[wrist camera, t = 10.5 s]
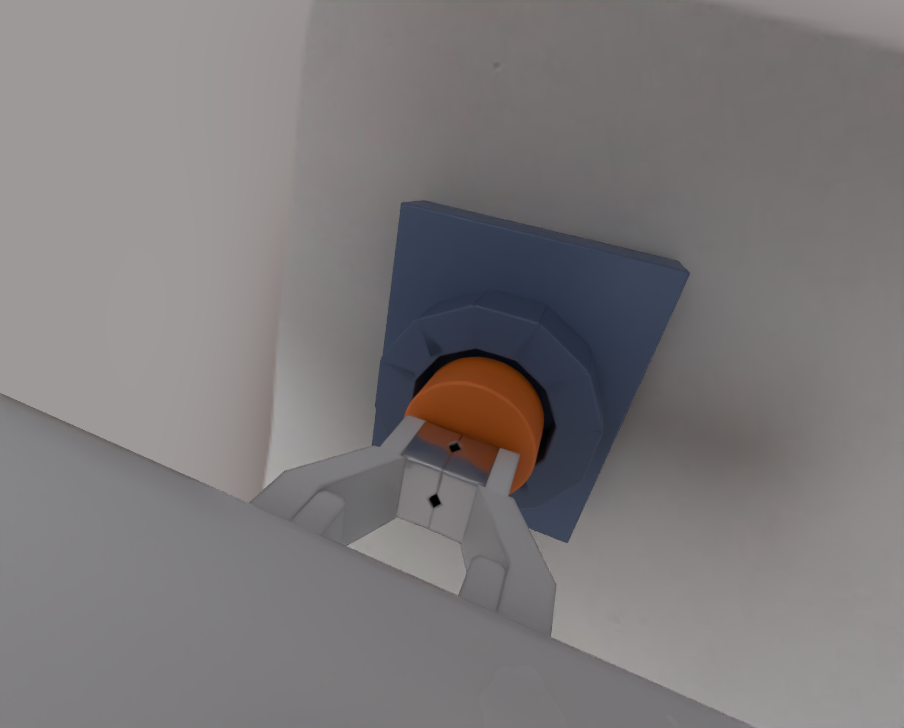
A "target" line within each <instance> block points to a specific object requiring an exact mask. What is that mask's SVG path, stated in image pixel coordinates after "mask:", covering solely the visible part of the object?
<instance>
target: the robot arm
mask: <svg viewBox="0 0 904 728" xmlns="http://www.w3.org/2000/svg"><path fill="white" fill-rule="evenodd" d="M519 457H520V454H519V453H517V452H514V451H510V450H507V449H504V448H501V447H500V448H499V447H497V446H494V445H491V444H488V443H485V442H482V441H479V440H476V439H473V438H470V437H468V436H465V435H463V434H460V433H458V432H455V431H453V430H450V429H447V428H445V427H442V426H439V425H437V424H434V423H432V422H429V421H426V420H423V419H421V418H418V417H415V416H412V415H407V416H405V418H404V419H403V420H402V421H401V422H400V424H399V425H398V426H397V427H396V428H395V429H394V431H393V432H392V433H391V434H390V435H389V437H388V438H387V439H386V440H385V441H384V442H383V444H382V445H381V446H380V447H378V446H375V445H374V446H370V447H367V448H363V449H360V450H356V451H353V452H349V453H346V454H342V455H339V456H335V457H332V458H328V459H325V460H321V461H318V462H314V463H311V464H307V465H304V466H300V467H297V468H293V469H290V470H286V471H284V472H283V473H282V474H281V475H279V476H278V477H277V478H276V479H275V480H274V481H273V482H272V483H270V484H269V485H268V486H267V487H266V488H265V489H264V490H263V491H262V492H260V493H259V494H258V495H257V496H256V497H255V498H254V499H253V500H252V501H250V502H249V503H247V502H245V501H243V500H241V499H238V498H236V497H234V496H232V495H229V494H227V493H225V492H223V491H220V490H218V489H215V488H214V487H211V486H209V485H207V484H205V483H202V482H200V481H198V480H196V479H193V478H191V477H189V476H186V475H184V474H182V473H180V472H177V471H175V470H173V469H171V468H168V467H166V466H164V465H161V464H159V463H157V462H155V461H153V460H150V459H148V458H146V457H143V456H141V455H139V454H136V453H134V452H132V451H130V450H128V449H125V448H123V447H121V446H119V445H117V444H114V443H112V442H110V441H107V440H105V439H103V438H101V437H98V436H96V435H94V434H92V433H89V432H87V431H85V430H83V429H80V428H78V427H76V426H74V425H71V424H69V423H67V422H65V421H62V420H60V419H58V418H56V417H53V416H51V415H49V414H47V413H44V412H42V411H40V410H37V409H35V408H33V407H31V406H28V405H26V404H24V403H22V402H20V401H17V400H15V399H13V398H11V397H8V396H6V395H4V394H1V393H0V728H756V727H754V726H751V725H749V724H747V723H745V722H742V721H740V720H738V719H736V718H733V717H731V716H729V715H727V714H724V713H722V712H720V711H718V710H715V709H713V708H711V707H709V706H706V705H704V704H702V703H699V702H697V701H695V700H693V699H690V698H688V697H686V696H684V695H681V694H679V693H677V692H675V691H672V690H670V689H668V688H666V687H663V686H661V685H659V684H657V683H654V682H652V681H650V680H648V679H645V678H643V677H641V676H638V675H636V674H634V673H632V672H629V671H627V670H625V669H623V668H620V667H618V666H616V665H613V664H611V663H609V662H607V661H604V660H602V659H600V658H598V657H595V656H593V655H591V654H588V653H586V652H584V651H582V650H579V649H577V648H575V647H572V646H570V645H568V644H566V643H563V642H561V641H559V640H557V639H554V638H552V637H551V631H552V621H553V612H554V602H555V593H556V583H555V581H554V579H553V577H552V575H551V573H550V571H549V569H548V567H547V565H546V563H545V561H544V559H543V557H542V555H541V552H540V550H539V548H538V546H537V544H536V542H535V540H534V538H533V536H532V534H531V532H530V530H529V528H528V526H527V524H526V522H525V520H524V518H523V516H522V514H521V512H520V510H519V508H518V506H517V504H516V501H515V499H514V498H512V497H509V496H508V495H509V492H510V488H511V485H512V482H513V478H514V475H515V471H516V468H517V464H518V461H519ZM395 517H398V518H401V519H403V520H406V521H409V522H411V523H414V524H416V525H419V526H422V527H424V528H427V529H429V530H432V531H434V532H436V533H438V534H440V535H443V536H445V537H447V538H449V539H452V540H454V541H456V542H458V543H461V549H462V553H463V558H464V563H465V567H466V572H467V573H466V576H465V579H464V582H463V584H462V587H461V590H460V593H459V596H458V595H455V594H453V593H451V592H449V591H446V590H444V589H442V588H440V587H438V586H435V585H433V584H431V583H429V582H426V581H424V580H422V579H419V578H417V577H415V576H413V575H410V574H408V573H406V572H404V571H401V570H399V569H397V568H395V567H392V566H390V565H388V564H385V563H383V562H381V561H379V560H376V559H374V558H372V557H370V556H367V555H365V554H363V553H361V552H358V551H356V550H354V549H352V548H349V547H347V545H349V544H351V543H353V542H354V541H356V540H358V539H360V538H361V537H363V536H365V535H367V534H369V533H370V532H372V531H374V530H376V529H377V528H379V527H381V526H383V525H385V524H386V523H388V522H390V521H392V520H393V519H395Z"/></svg>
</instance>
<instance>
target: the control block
mask: <svg viewBox="0 0 904 728" xmlns="http://www.w3.org/2000/svg"><path fill="white" fill-rule="evenodd" d="M689 275H690V272H689V271H688V270H687V269H686V268H685V267H684V266H683V265H682V264H681V263H680V262H678V261H676V260H672V259H668V258H663V257H659V256H655V255H651V254H647V253H642V252H638V251H634V250H630V249H626V248H621V247H617V246H613V245H609V244H605V243H600V242H596V241H592V240H588V239H584V238H579V237H575V236H571V235H567V234H562V233H558V232H554V231H550V230H546V229H541V228H537V227H533V226H529V225H525V224H520V223H516V222H512V221H508V220H504V219H499V218H495V217H491V216H487V215H483V214H478V213H474V212H470V211H466V210H462V209H457V208H453V207H449V206H445V205H441V204H436V203H432V202H428V201H413V202H403V203H402V204H401V210H400V218H399V226H398V234H397V243H396V251H395V259H394V267H393V276H392V284H391V292H390V300H389V308H388V317H387V325H386V333H385V341H384V350H383V356H382V358H381V361H380V369H379V378H378V386H377V394H376V403H375V407H376V416H375V424H374V432H373V440H372V446H374V445H375V446H378V447H380V446H381V445H382V444H383V442H384V441H385V440H386V439H387V438H388V437H389V435H390V434H391V433H392V432H393V431H394V429H395V428H396V427H397V426H398V425H399V424H400V422H401V421H402V420H403V419H404V415H405V412H406V410H407V407H408V406H409V404H410V402H411V401H412V400H413V398H414V397H415V396H416V395H417V394H418V393H419V392H420V390H421V389H422V388H423V387H424V386H425V385H426V383H427V382H428V381H429V380H430V379H431V378H432V377H433V375H434V374H435V373H436V372H437V371H438V370H439V369H440V368H441V367H443V366H444V365H446V364H448V363H449V362H452V361H454V360H457V359H461V358H466V357H485V358H490V359H495V360H498V361H500V362H503V363H505V364H507V365H509V366H511V367H513V368H514V369H515V370H517V371H518V372H520V373H521V374H522V375H523V376H524V377H525V378H526V379H527V380H528V381H529V382H530V383H531V385H532V386H533V388H534V389H535V390H536V392H537V394H538V396H539V398H540V401H541V403H542V407H543V412H544V427H543V432H542V436H541V441H540V445H539V449H538V454H537V458H536V462H535V466H534V469H533V471H532V473H531V475H530V477H529V478H528V480H527V481H526V482H525V483H524V484H523V485H522V486H521V487H520V488H519V489H517V490H516V491H515V492H513V493H511V494H509V495H508V496H509V497H512V498H514V499H515V501H516V504H517V506H518V508H519V510H520V512H521V514H522V516H523V518H524V520H525V522H526V524H527V526H528V528H530V529H532V530H535V531H537V532H540V533H543V534H545V535H548V536H550V537H553V538H555V539H558V540H560V541H563V542H566V543H567V542H568V541H569V539H570V536H571V534H572V532H573V530H574V528H575V525H576V523H577V521H578V519H579V517H580V514H581V512H582V510H583V508H584V506H585V503H586V501H587V499H588V497H589V495H590V492H591V490H592V488H593V486H594V484H595V481H596V479H597V477H598V475H599V473H600V470H601V468H602V466H603V464H604V462H605V459H606V457H607V455H608V453H609V451H610V448H611V446H612V444H613V442H614V440H615V437H616V435H617V433H618V431H619V429H620V427H621V424H622V422H623V420H624V418H625V416H626V413H627V411H628V409H629V407H630V405H631V402H632V400H633V398H634V396H635V394H636V391H637V389H638V387H639V385H640V383H641V380H642V378H643V376H644V374H645V372H646V369H647V367H648V365H649V363H650V361H651V358H652V356H653V354H654V352H655V350H656V347H657V345H658V343H659V341H660V339H661V336H662V334H663V332H664V330H665V328H666V325H667V323H668V321H669V319H670V317H671V314H672V312H673V310H674V308H675V306H676V303H677V301H678V299H679V297H680V295H681V292H682V290H683V288H684V286H685V284H686V281H687V279H688V277H689Z"/></svg>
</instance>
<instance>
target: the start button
mask: <svg viewBox="0 0 904 728" xmlns="http://www.w3.org/2000/svg"><path fill="white" fill-rule="evenodd" d="M407 415H412V416H415V417H418V418H421V419H423V420H426V421H429V422H432V423H434V424H437V425H439V426H442V427H445V428H447V429H450V430H453V431H455V432H458V433H460V434H463V435H465V436H468V437H470V438H473V439H476V440H479V441H482V442H485V443H488V444H491V445H494V446H497V447H499V448H500V447H501V448H504V449H507V450H510V451H514V452H517V453H519V454H520V457H519V461H518V464H517V468H516V471H515V475H514V478H513V482H512V485H511V488H510V492H509V494H511V493H513V492H515V491H516V490H517V489H519V488H520V487H521V486H522V485H523V484H524V483H525V482H526V481H527V480H528V478H529V477H530V475H531V473H532V471H533V469H534V466H535V462H536V458H537V454H538V449H539V445H540V441H541V436H542V432H543V427H544V412H543V407H542V403H541V401H540V398H539V396H538V394H537V392H536V390H535V389H534V388H533V386H532V385H531V383H530V382H529V381H528V380H527V379H526V378H525V377H524V376H523V375H522V374H521V373H520V372H518V371H517V370H515V369H514V368H513V367H511V366H509V365H507V364H505V363H503V362H500V361H498V360H495V359H490V358H485V357H466V358H461V359H457V360H454V361H452V362H449V363H448V364H446V365H444V366H443V367H441V368H440V369H439V370H438V371H437V372H436V373H435V374H434V375H433V377H432V378H431V379H430V380H429V381H428V382H427V383H426V385H425V386H424V387H423V388H422V389H421V390H420V392H419V393H418V394H417V395H416V396H415V397H414V398H413V400H412V401H411V402H410V404H409V406H408V407H407V410H406V412H405V415H404V418H405V416H407Z"/></svg>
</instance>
